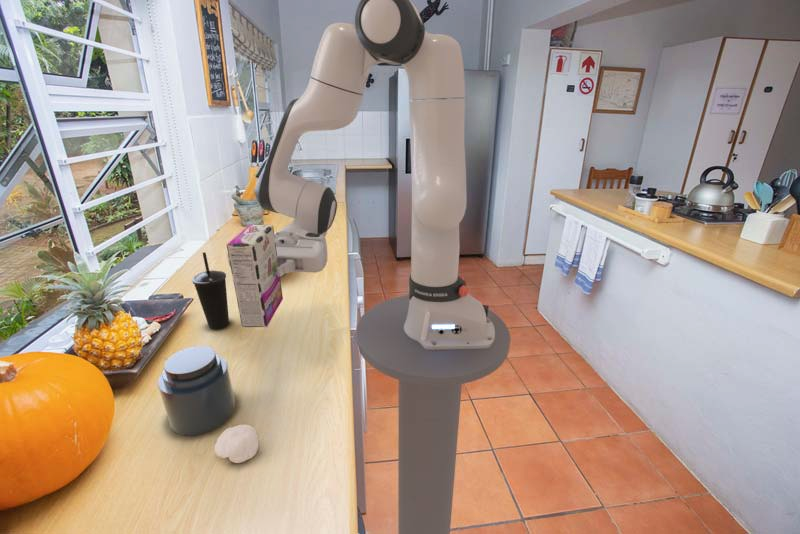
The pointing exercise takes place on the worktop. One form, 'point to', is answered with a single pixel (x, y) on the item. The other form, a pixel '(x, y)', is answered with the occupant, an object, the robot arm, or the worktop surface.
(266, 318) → the candy bar box
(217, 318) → the drinking cup
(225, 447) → the dumpling
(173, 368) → the jar
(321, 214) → the robot arm
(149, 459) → the worktop surface
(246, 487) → the worktop surface
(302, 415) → the worktop surface
